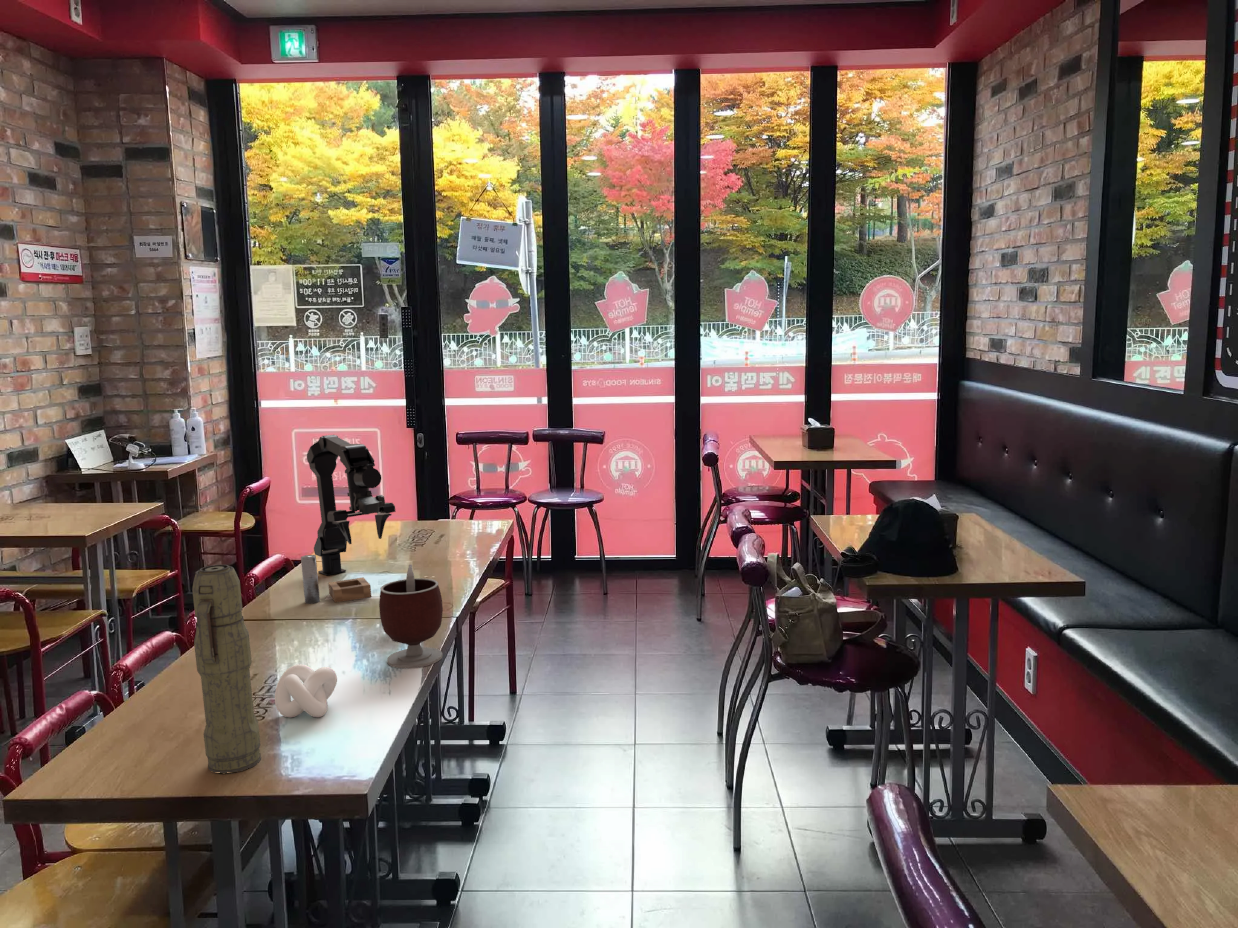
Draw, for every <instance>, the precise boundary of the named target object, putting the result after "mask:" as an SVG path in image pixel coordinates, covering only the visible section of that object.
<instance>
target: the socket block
mask: <svg viewBox="0 0 1238 928" xmlns="http://www.w3.org/2000/svg"><path fill="white" fill-rule="evenodd" d="M327 587H328V595H329V596H330V597H331V599H332V600H333V602H334V603H340V602H347V601H354V600H359V599H366V598H371V597H372V589H371V584H370V583H369V582H368V581H367V579H366V578H365V577H357V578H350V579H343V580H337V581H331V582H329V581H328V582H327Z"/></svg>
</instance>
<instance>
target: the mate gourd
mask: <svg viewBox="0 0 1238 928" xmlns="http://www.w3.org/2000/svg"><path fill="white" fill-rule="evenodd" d="M440 589H441V588H440V587H439V582H438V581H437V580H435V579H432V578H420V577H419V578H415V575H414V570H413V565H412V564H411V563H410V564H408V568H407V573H406V579H398V580H395V581H391V582H388V583H385V584H384V585H381V586H380V593H379V601H378V606H379V607H378V608H379V618H380V622H381V626H382V629H383V632H384V633H385V634H386V635H387V636H388V637H389V638H390V639H391V641H393V642H394V643H395V642H396V643H399V644H403V645H407V648H405V649H401V650H398V651H395V652H392V653H391V654H390V655H389V656H388V657H387V659H386V660H387V661H386V662H387V665H389V666H391V667H393V668H397V669H417V668H423V667H427V666H431V665H434V664H435V663H438V662H439V661H441V659H442V658H443V652H442V650H440V649H439V648H435V647H425V646H424V647H423V646H421V643H423V642H426V641H427V640H429V639H431V638H433V637H434V636H436V634H437V633H438V631H439V629H440V628H441V625H442V621H443V611H444V608H443V597H442V593H441V590H440Z"/></svg>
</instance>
